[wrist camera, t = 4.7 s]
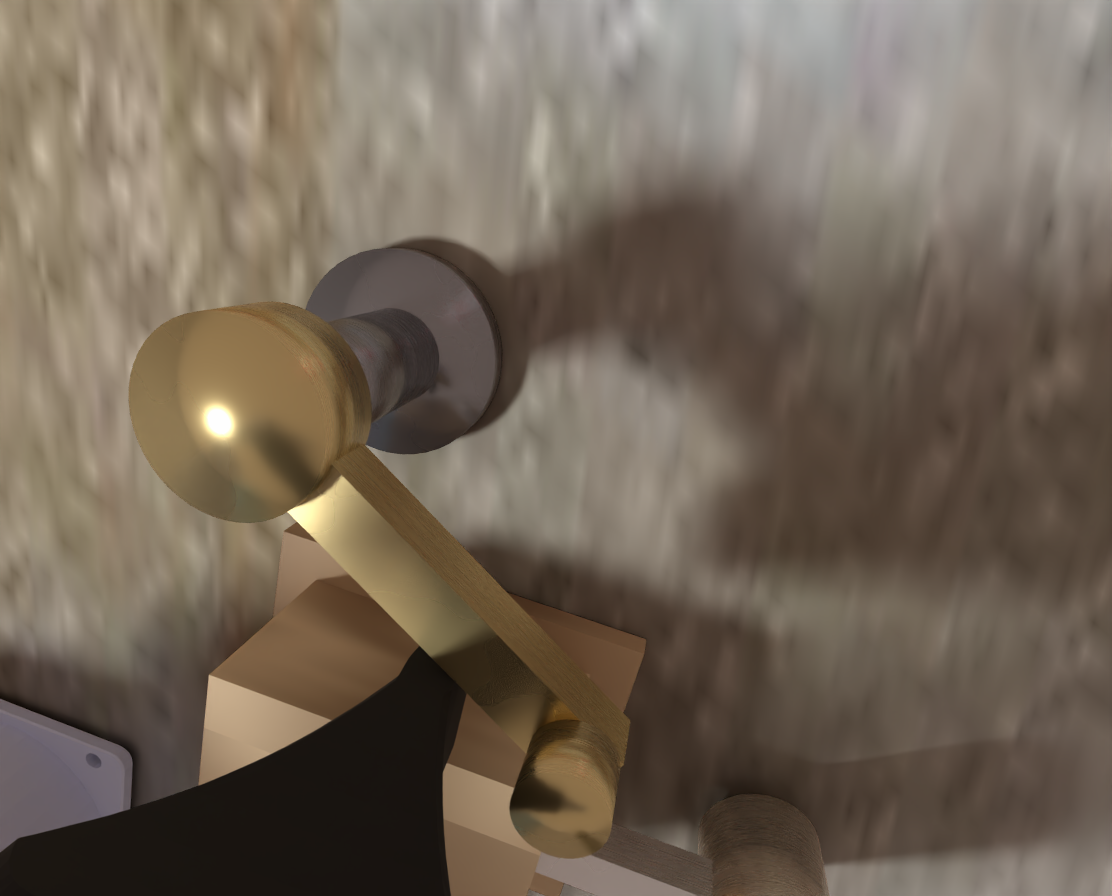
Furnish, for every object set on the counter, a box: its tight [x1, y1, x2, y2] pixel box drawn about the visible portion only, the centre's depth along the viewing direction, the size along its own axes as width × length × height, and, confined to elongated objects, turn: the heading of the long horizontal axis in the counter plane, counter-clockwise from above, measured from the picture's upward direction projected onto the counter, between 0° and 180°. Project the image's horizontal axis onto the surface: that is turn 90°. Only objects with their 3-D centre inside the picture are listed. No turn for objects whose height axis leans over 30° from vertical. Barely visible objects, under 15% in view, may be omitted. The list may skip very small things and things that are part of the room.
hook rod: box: [202, 710, 830, 896], centre depth 15 cm, size 14×3×5 cm, turn 76°
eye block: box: [198, 522, 646, 896], centre depth 16 cm, size 9×8×4 cm
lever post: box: [306, 248, 502, 454], centre depth 13 cm, size 4×4×4 cm
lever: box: [129, 302, 630, 859], centre depth 10 cm, size 9×3×2 cm, turn 44°
